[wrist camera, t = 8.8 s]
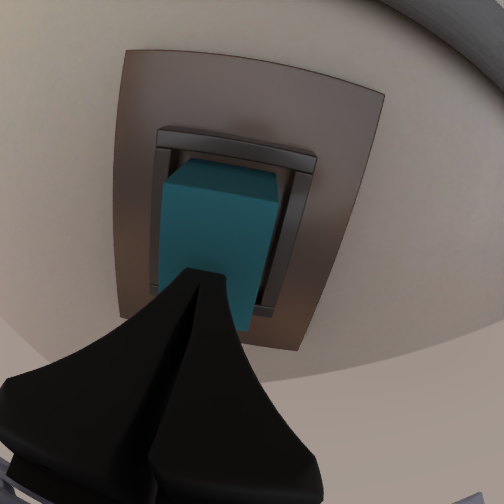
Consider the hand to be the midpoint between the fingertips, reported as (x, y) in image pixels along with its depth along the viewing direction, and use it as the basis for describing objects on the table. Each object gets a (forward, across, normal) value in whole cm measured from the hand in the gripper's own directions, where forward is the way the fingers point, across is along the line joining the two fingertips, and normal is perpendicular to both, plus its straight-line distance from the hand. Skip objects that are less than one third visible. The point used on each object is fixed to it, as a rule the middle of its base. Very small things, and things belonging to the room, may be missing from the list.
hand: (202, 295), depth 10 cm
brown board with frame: (+7, 0, 0) cm, 7 cm away
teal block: (+6, 0, 0) cm, 6 cm away
